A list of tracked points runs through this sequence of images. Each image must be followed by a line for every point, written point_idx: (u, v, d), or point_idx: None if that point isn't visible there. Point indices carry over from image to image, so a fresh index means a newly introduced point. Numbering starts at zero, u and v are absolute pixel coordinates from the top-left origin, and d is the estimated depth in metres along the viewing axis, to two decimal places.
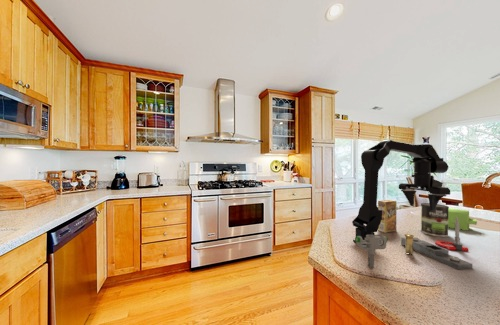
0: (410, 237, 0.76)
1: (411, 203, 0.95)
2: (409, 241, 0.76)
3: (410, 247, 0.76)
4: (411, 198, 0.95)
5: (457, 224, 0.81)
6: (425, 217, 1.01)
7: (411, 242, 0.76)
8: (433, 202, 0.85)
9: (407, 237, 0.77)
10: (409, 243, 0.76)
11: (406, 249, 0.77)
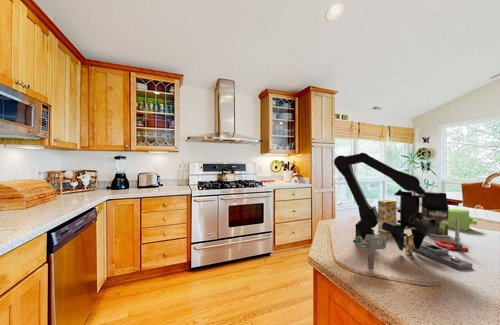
0: (410, 237, 0.76)
1: (415, 245, 0.78)
2: (409, 241, 0.76)
3: (410, 247, 0.76)
4: (416, 240, 0.78)
5: (457, 224, 0.81)
6: (425, 217, 1.01)
7: (411, 242, 0.76)
8: (395, 239, 0.77)
9: (407, 237, 0.77)
10: (409, 243, 0.76)
11: (406, 249, 0.77)
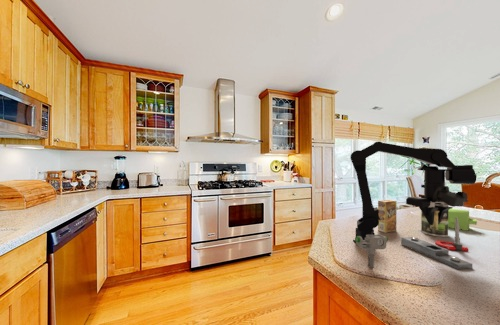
0: (435, 211, 0.75)
1: None
2: (434, 216, 0.75)
3: (435, 222, 0.75)
4: None
5: (457, 224, 0.81)
6: None
7: (436, 217, 0.75)
8: (425, 214, 0.77)
9: None
10: (434, 218, 0.75)
11: None
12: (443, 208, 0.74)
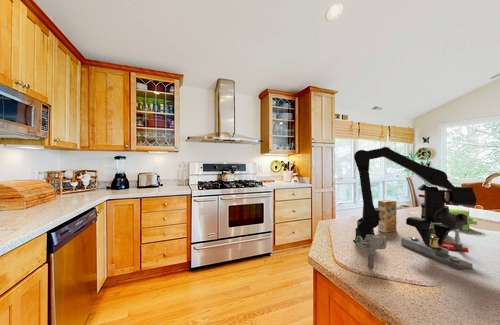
0: (435, 239, 0.75)
1: (438, 241, 0.77)
2: (434, 243, 0.75)
3: (435, 249, 0.75)
4: (439, 235, 0.77)
5: None
6: None
7: (436, 244, 0.75)
8: (421, 235, 0.76)
9: (432, 239, 0.75)
10: (434, 245, 0.75)
11: None
12: (446, 229, 0.75)
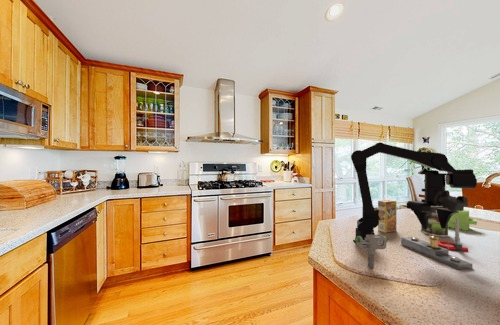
0: (435, 239, 0.75)
1: (441, 225, 0.77)
2: (434, 243, 0.75)
3: (435, 249, 0.75)
4: (442, 219, 0.77)
5: (457, 224, 0.81)
6: None
7: (436, 244, 0.75)
8: (419, 218, 0.76)
9: (432, 239, 0.75)
10: (434, 245, 0.75)
11: None
12: (449, 212, 0.75)
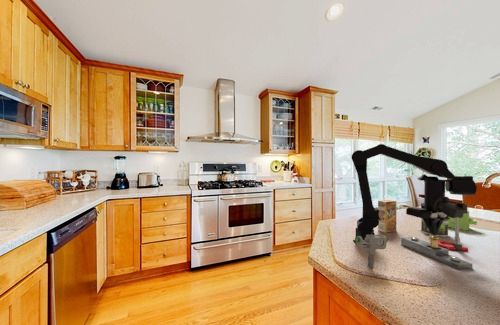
0: (435, 239, 0.75)
1: None
2: (434, 243, 0.75)
3: (435, 249, 0.75)
4: None
5: (457, 224, 0.81)
6: None
7: (436, 244, 0.75)
8: (427, 224, 0.77)
9: (432, 239, 0.75)
10: (434, 245, 0.75)
11: None
12: (440, 219, 0.74)
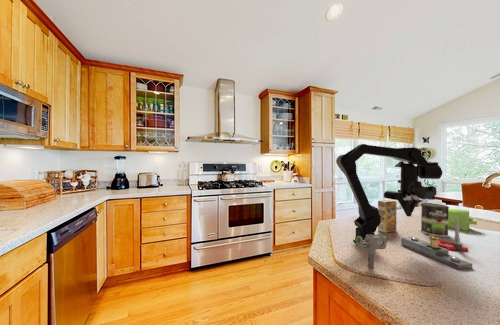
0: (435, 239, 0.75)
1: None
2: (434, 243, 0.75)
3: (435, 249, 0.75)
4: None
5: (457, 224, 0.81)
6: (425, 217, 1.01)
7: (436, 244, 0.75)
8: (403, 207, 0.85)
9: (432, 239, 0.75)
10: (434, 245, 0.75)
11: None
12: (414, 201, 0.82)
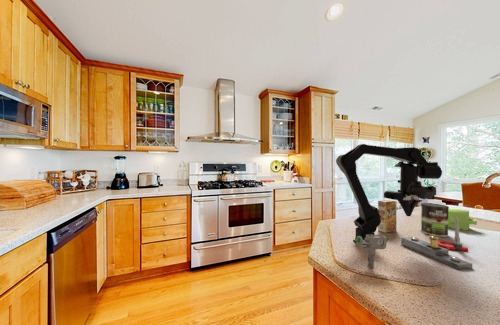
0: (435, 239, 0.75)
1: None
2: (434, 243, 0.75)
3: (435, 249, 0.75)
4: None
5: (457, 224, 0.81)
6: (425, 217, 1.01)
7: (436, 244, 0.75)
8: (403, 207, 0.85)
9: (432, 239, 0.75)
10: (434, 245, 0.75)
11: None
12: (414, 201, 0.82)
